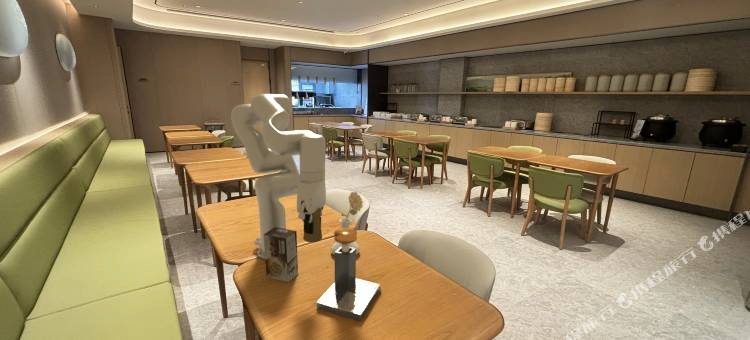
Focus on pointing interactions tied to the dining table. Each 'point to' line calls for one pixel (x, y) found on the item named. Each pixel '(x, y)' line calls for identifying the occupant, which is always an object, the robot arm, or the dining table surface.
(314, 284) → the dining table surface
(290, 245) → the coffee box
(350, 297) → the press stand
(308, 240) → the cork
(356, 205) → the flower in vase
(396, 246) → the dining table surface
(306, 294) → the dining table surface
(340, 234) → the handle
